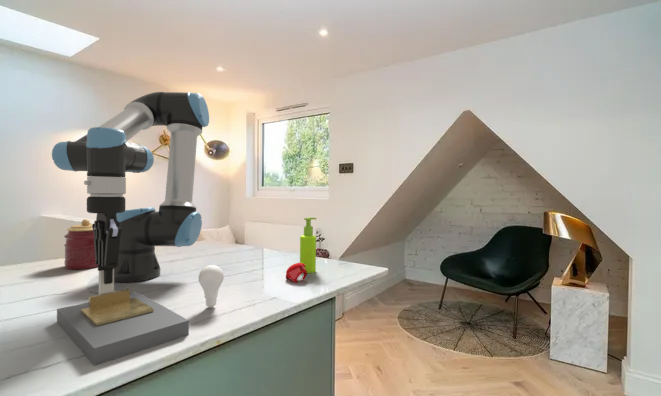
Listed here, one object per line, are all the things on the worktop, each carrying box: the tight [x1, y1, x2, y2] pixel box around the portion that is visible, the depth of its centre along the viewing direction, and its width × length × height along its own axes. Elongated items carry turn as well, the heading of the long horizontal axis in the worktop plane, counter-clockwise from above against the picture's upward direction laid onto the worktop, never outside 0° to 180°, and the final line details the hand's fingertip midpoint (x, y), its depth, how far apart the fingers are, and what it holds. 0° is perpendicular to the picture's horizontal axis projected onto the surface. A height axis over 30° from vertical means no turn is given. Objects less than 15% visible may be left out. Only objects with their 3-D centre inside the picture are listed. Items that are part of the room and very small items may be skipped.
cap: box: [285, 262, 308, 283], centre depth 115 cm, size 8×6×6 cm
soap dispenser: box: [299, 216, 317, 274], centre depth 128 cm, size 6×7×20 cm
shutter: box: [81, 288, 154, 326], centre depth 76 cm, size 11×11×3 cm
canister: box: [63, 218, 98, 270], centre depth 129 cm, size 13×13×18 cm
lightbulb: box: [198, 264, 225, 309], centre depth 88 cm, size 6×6×11 cm
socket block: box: [56, 291, 190, 366], centre depth 75 cm, size 28×17×3 cm, turn 49°
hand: (106, 296), depth 80 cm, fingers closed
